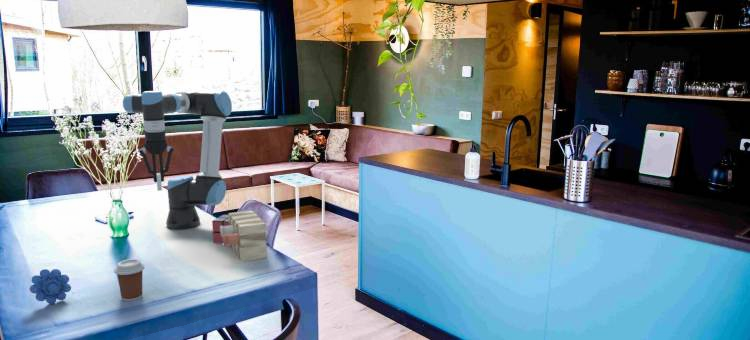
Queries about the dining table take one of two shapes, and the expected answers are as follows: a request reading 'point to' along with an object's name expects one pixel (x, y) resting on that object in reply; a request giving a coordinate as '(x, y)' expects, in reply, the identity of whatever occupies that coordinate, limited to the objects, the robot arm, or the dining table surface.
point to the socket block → (249, 235)
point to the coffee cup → (130, 279)
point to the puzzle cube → (216, 224)
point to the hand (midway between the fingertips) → (159, 189)
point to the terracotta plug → (230, 239)
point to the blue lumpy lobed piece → (50, 286)
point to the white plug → (226, 230)
